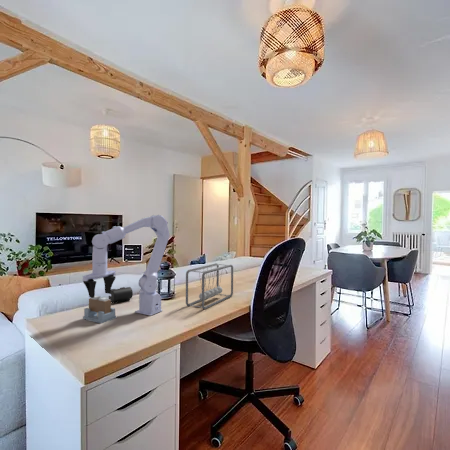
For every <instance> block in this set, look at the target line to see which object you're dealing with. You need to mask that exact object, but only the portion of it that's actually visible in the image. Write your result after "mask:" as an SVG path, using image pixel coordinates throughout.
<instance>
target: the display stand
mask: <svg viewBox="0 0 450 450" xmlns="http://www.w3.org/2000/svg"><path fill="white" fill-rule="evenodd" d="M83 310H84V315H83V316H82V320H85V319H86V320H85V321H88V322H89V321H90V322H94V323H97V324H103V323H106V322H109V321H112V320H114V319H117V315H116V308H115V307H111V312H110V313H107V314H104V312H102V311H99V312H94V311H90V309H89V307H85V308H84V309H83Z"/></svg>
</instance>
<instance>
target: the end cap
mask: <svg viewBox="0 0 450 450" xmlns="http://www.w3.org/2000/svg"><path fill="white" fill-rule="evenodd" d="M133 294H134V292H133V289H132V287H131V286H123V287H119V288H117V289H116V288H111V290H110V293H109V295H108V298H109V300H111V302H112V303H111V304H116V302H117V303H120V302H121V301H122V302H126V301H130V300H131V299H133V298H132V297H133ZM110 295H111V296H110ZM125 300H126V301H125Z"/></svg>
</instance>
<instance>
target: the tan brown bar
mask: <svg viewBox="0 0 450 450" xmlns="http://www.w3.org/2000/svg"><path fill="white" fill-rule="evenodd" d="M111 304H112V303H111V300H110V299H109V297H105V296H103V297H101V296H99V295H95V296H94V298H91V297H89V298H88V308H89V309H90V311H94V312H99V311H102V312H104V314H107V313H110V312H111V308H112V305H111Z"/></svg>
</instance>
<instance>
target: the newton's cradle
mask: <svg viewBox="0 0 450 450" xmlns="http://www.w3.org/2000/svg"><path fill="white" fill-rule="evenodd" d="M228 268H231V269H230V294H224V293H223V294H222V292H223V287H222V286H221V285H220V282H221V279H219V278H220V277H219V276H222V274H223V272H221V273H219V272H220V271H222V270H224V269H228ZM191 272H193V273H199V276H201V278H199V281H200V282H201V285H200V288H201V293H199V295H198V298H199V299H197V300H195V301H192V302H190V303H189V274H190V273H191ZM201 273H202V275H201ZM209 273H210V274H209ZM215 274H216V283H214V281H215V277H214V275H215ZM219 274H220V275H219ZM207 276H208V286H207V283H206V281H207V279H206V277H207ZM210 276H212V280H213V281H212V285H211V287H210V284H211V282H210V281H211V278H210ZM214 284H216V286H214ZM206 286H207V288H210V289H205V288H206ZM233 294H234V266H233V264H224V265H223V264H219V263H216V262H215V263H211V264H207V265H204V266H198V267H195V268H191V269H188V270H187V271H186V272H185V305H186V306H187V307H191V306H192V307H197V308H201V309H203V310H206V309H208V308H210V307H213V306H214V305H217V304H219V303H221V302H223V301H225V300H227V299H230V298H232V296H233ZM217 295H220V296H225V297H222V298H221V299H219V300H216V301H214V302H211V303H209V304H207V305H205V300H207V299H210V298H212V297H214V296H217ZM200 302H201V306H200V305H199V306H198V305H196V304H197V303H200Z"/></svg>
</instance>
